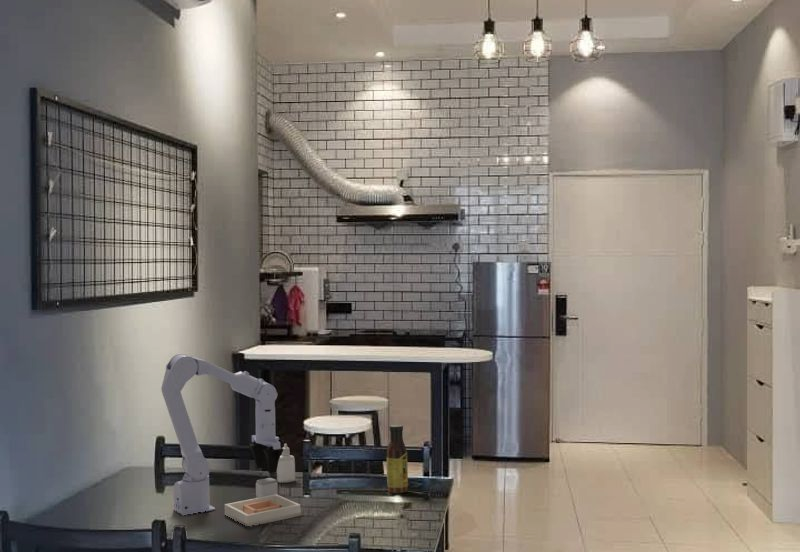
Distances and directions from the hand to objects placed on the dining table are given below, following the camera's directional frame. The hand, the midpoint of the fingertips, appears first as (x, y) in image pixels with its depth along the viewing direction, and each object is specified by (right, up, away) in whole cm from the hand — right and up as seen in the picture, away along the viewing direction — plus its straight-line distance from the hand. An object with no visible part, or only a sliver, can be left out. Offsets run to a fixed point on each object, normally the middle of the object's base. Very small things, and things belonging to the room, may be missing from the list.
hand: (266, 470), depth 245 cm
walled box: (+1, -9, -15) cm, 18 cm away
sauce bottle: (+38, -8, +7) cm, 40 cm away
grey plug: (0, -9, 0) cm, 9 cm away
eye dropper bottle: (+3, -9, +22) cm, 24 cm away
